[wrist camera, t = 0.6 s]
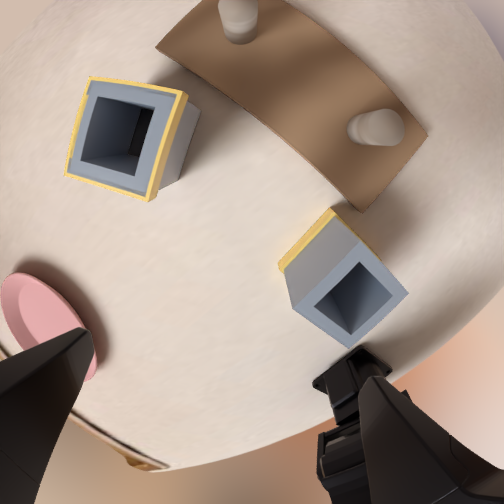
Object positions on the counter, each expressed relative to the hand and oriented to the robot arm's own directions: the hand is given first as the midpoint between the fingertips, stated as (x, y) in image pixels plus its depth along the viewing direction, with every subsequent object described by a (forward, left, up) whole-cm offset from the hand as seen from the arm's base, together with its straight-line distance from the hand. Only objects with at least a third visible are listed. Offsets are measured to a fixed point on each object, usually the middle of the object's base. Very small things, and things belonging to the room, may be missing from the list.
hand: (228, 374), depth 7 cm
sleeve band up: (+9, -2, -13) cm, 16 cm away
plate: (+10, +21, -13) cm, 27 cm away
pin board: (+4, -11, -13) cm, 17 cm away
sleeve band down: (-6, -3, -13) cm, 14 cm away
